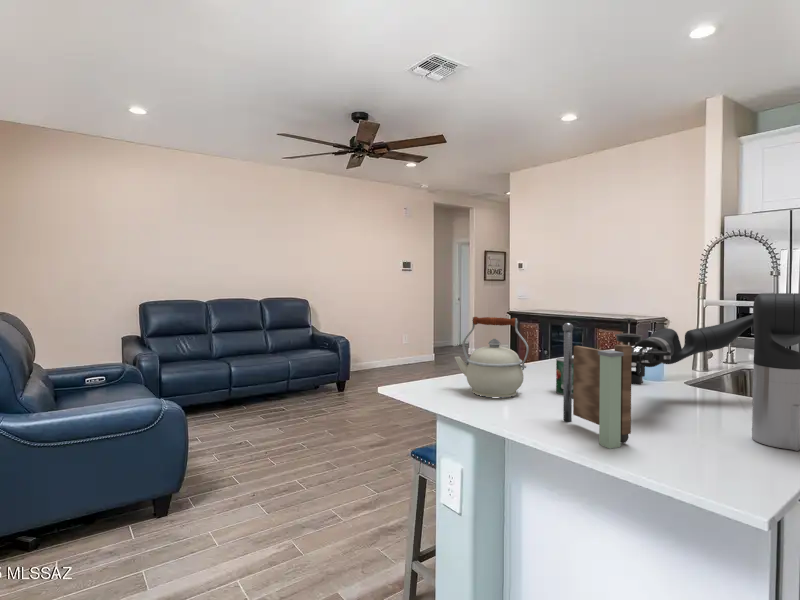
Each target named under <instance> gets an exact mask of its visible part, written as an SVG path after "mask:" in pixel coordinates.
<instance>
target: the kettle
mask: <svg viewBox="0 0 800 600" xmlns="http://www.w3.org/2000/svg"><path fill="white" fill-rule="evenodd" d="M518 323H519V322H518V318H516V317H512V318H507V317H495V316H494V317H493V316H486V317H485V316H484V317H478V316H473V317H472V327H471V330H470V331H469V332H468V334H467V335H465V338H463V340H462V341H463V342H462V351H463V354H464V357H465V359H466V360H464V361H463V359H462V358H461V356H454V360H455V361H456V363H457V366H458V367H459V368H458V369H460V371H461V372H462V374H463V375H464V376H465V377H466V381H467V383H468V385H469V387H470V388H472V393H473V394H474V393H475V394H477V395H476V396H478V395H481V396H486V397H509V398H512V397H511V396H513V397H515V396H517V394H518V392H517V391H518V390H519V389H520V388H521V386H522V384H523V382H524V372H523V371H524V370H525V369H527V365H525V362H526V361H527V358H528V355H529V348H530V347H529V345H528V342H527V341H526V339H525V338H524V337H523V336H522V334H521V333H520V332H519V330H518ZM476 325H485V326H501V327H502V326H512V327H514V328H515V329H514V330H515V333H516V334H517V335H518V337H519V338H520V339H521V340H522V341H523V343H524V345H525V347H526V351H525V356H524V359H523V360H522V359H521V358H520V356H519V354H518V353H517V352H516V351H514V350H512V348H507V347H504V346H500V345H501V342H500V340H498V339H497V338H492V339H490V341H489V342H487V344H488V345H489V346H483V347H480V348H477V349H475V350H474V351H472V352H471V354H470V356H468V354H467V353H468V352H467V351H466V345H465V344H466V341H467V339H468V338H469V336H470V335H471V334H472V333H473V332H474V330H475V329H476V328H475V326H476ZM475 394H474V395H475ZM481 396H480V397H481ZM486 397H485V398H486Z"/></svg>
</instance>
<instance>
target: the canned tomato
mask: <svg viewBox="0 0 800 600" xmlns="http://www.w3.org/2000/svg"><path fill="white" fill-rule="evenodd" d="M555 360H556V361H555V362H556V365H555V366H556V367H555V371H556V374H555V377H556V379H555V381H556V383H555V384H556V385H555V392H556V394H558V395H561V396H564V357H558V358H556V359H555ZM573 379H574V364H572V393H573Z"/></svg>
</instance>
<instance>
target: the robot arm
mask: <svg viewBox="0 0 800 600" xmlns="http://www.w3.org/2000/svg"><path fill="white" fill-rule="evenodd" d="M752 306H753V308H752V314H751V315H746V316H743V317H738V318H736V319H733V320H730V321H726V322H723V323H718V324H715V325H711V326H705V327H699V328H694V329H689V330H687V331H686V332H685V334H684V345H683V347H682V345H681V341H680V338H679V334H678V332H677V331H675V330H674V329H673V328H666V327H664V328H660V329H657V330H655V331H654V332H653V333H651V335H650V336H649V337H648V338H643V339H642V340H641V341H639V342H636V343H635V345H634V346H633V347H634V348H632V363H639V364H641V365H642V366H645V368H653V367H657V366H659V365H661V364H663V365H673V364H676V363H679V362H681V361H683V360H684V359H686V358H688V357H690V356H693V355H696V354H700V353H704V352H711V351H716V350H720V349H723V348H726V347H727V346H729V345H731V344H732V343H733V342H734V341H735V340H736V339H737V338H738V337H740V336H741V335H742V333H744V332H745V331H746V330H748V329H750V328H751V327H753V339H754V340H753V341H754V342H753V344H754V345H753V347H754V348H753V369H752V370H753V371H752V372H753V374H752V375H753V376H752V415H751V416H752V417H751V421H752V423H751V424H752V425H751V438H752V440H753V441H754V442H756V443H759V444H763V445H765V446H769V447H774V448H778V449H779V448H780V449H786V450H792V451H800V351H797V350H794V349H791V348H788V347H793V346H795V345H798V344H800V292H799V293H798V292H797V293H795V292H794V293H792V292H791V293H790V292H789V293H788V292H787V293H785V292H780V293H779V292H777V293H776V292H774V293H773V292H770V293H767V292H765V293H759V294H757V295H756V296H755V298H754V301H753V305H752Z"/></svg>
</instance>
